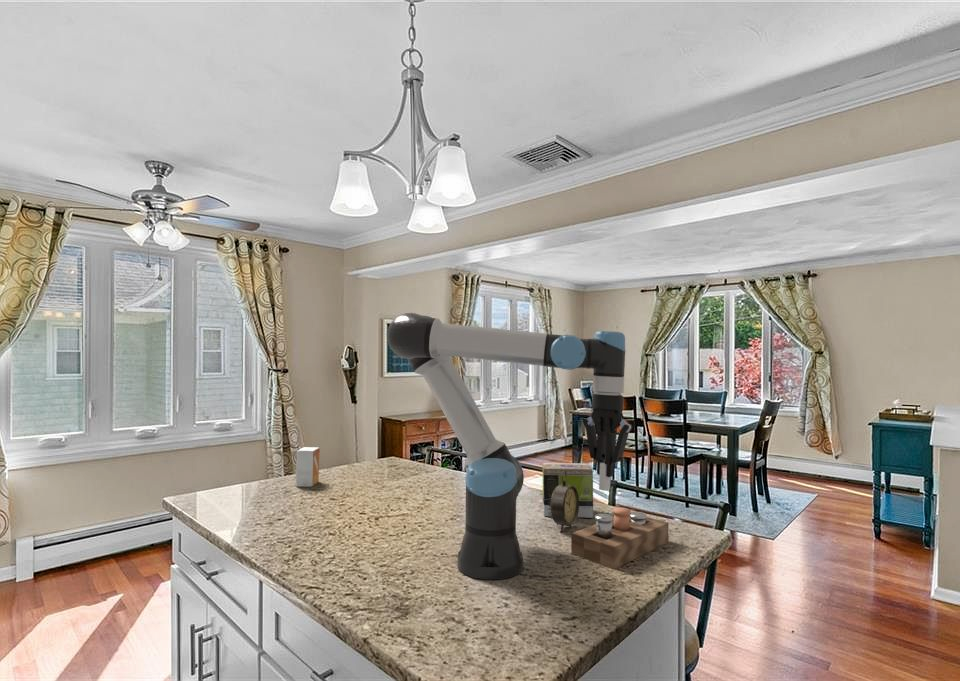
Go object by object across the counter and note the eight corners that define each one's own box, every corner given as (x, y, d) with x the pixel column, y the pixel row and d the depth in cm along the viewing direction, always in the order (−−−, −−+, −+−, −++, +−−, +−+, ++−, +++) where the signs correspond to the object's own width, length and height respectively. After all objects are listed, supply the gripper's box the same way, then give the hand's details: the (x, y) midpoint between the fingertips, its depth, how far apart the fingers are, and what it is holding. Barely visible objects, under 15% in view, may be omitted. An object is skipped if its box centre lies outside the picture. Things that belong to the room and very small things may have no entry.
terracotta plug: (624, 534, 127) (624, 513, 127) (609, 529, 130) (609, 509, 130) (633, 530, 130) (634, 510, 130) (618, 525, 133) (618, 506, 133)
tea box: (589, 509, 162) (589, 462, 163) (593, 519, 152) (593, 469, 153) (542, 507, 164) (542, 461, 164) (542, 517, 154) (543, 467, 154)
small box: (312, 487, 185) (313, 450, 186) (295, 486, 185) (296, 450, 186) (319, 481, 193) (319, 446, 194) (302, 481, 193) (303, 446, 194)
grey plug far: (641, 537, 132) (641, 518, 132) (626, 533, 135) (626, 514, 135) (649, 533, 135) (649, 514, 135) (634, 529, 138) (634, 511, 138)
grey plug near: (606, 541, 121) (606, 520, 121) (591, 536, 124) (591, 516, 124) (616, 537, 124) (616, 516, 124) (601, 532, 127) (601, 512, 127)
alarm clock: (564, 535, 138) (565, 475, 139) (546, 531, 141) (547, 472, 141) (580, 524, 147) (580, 467, 148) (562, 521, 150) (563, 465, 151)
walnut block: (614, 569, 116) (614, 547, 116) (571, 553, 125) (571, 533, 125) (668, 541, 134) (668, 522, 134) (627, 530, 143) (627, 512, 143)
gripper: (639, 395, 125) (636, 492, 124) (593, 391, 134) (590, 481, 133) (624, 396, 119) (620, 497, 119) (577, 391, 129) (573, 485, 128)
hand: (604, 489), depth 126 cm, fingers closed
